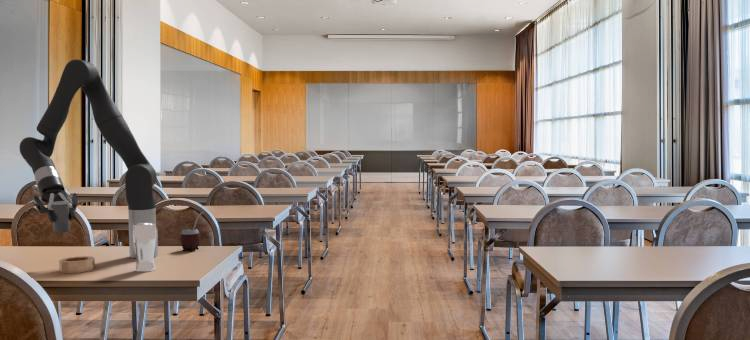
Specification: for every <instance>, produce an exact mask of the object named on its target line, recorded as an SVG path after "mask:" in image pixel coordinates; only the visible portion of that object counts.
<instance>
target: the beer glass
mask: <svg viewBox="0 0 750 340" xmlns="http://www.w3.org/2000/svg"><path fill="white" fill-rule="evenodd" d="M133 243H134V249H135V253H136V258H135V259H136V264H135V268H134V270H135V272H136V273H145V272H148V273H149V272H153V271H155V270H156V269H157V268H156V264H155V263H156V262H155V257H154V252H155V245H156V229H155V223H152V222H145V223H136V224H133Z"/></svg>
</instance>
